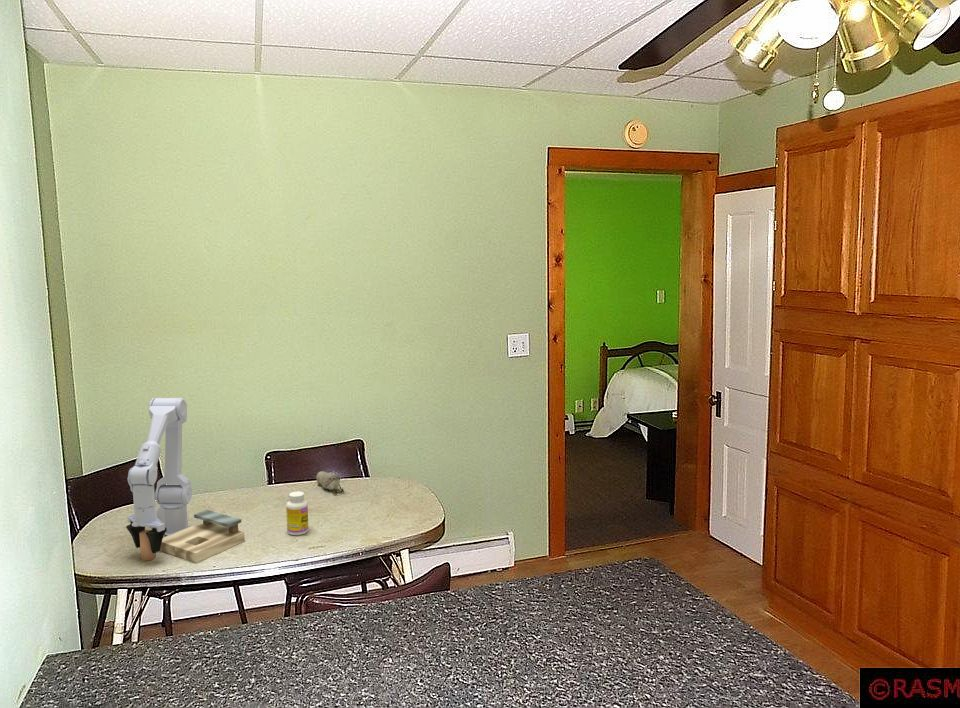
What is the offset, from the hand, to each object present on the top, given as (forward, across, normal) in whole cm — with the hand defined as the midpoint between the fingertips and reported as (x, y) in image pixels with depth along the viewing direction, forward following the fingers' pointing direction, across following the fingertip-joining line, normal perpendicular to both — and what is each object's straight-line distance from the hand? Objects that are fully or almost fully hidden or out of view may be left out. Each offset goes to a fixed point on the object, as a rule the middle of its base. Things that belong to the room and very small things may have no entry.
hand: (147, 549), depth 218 cm
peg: (+3, 0, 0) cm, 3 cm away
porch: (+3, +6, +14) cm, 16 cm away
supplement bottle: (+3, +24, +37) cm, 44 cm away
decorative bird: (+3, +5, +72) cm, 73 cm away
